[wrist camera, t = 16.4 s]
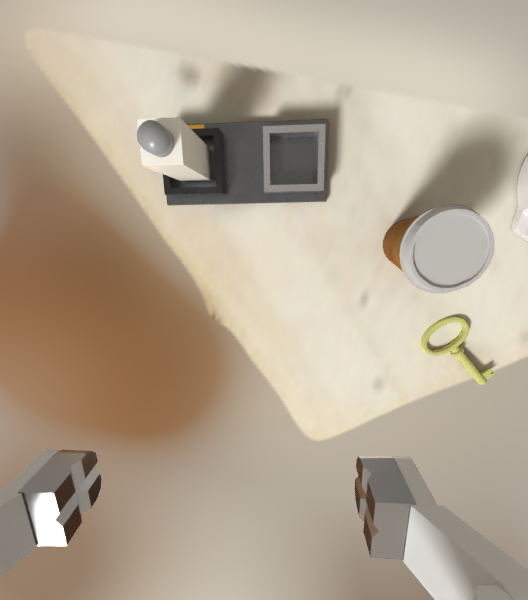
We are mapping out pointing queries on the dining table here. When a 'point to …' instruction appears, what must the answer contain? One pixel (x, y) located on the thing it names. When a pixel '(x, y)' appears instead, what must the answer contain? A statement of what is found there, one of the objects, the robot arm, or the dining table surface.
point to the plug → (174, 150)
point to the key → (455, 348)
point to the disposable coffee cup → (441, 248)
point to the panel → (258, 164)
